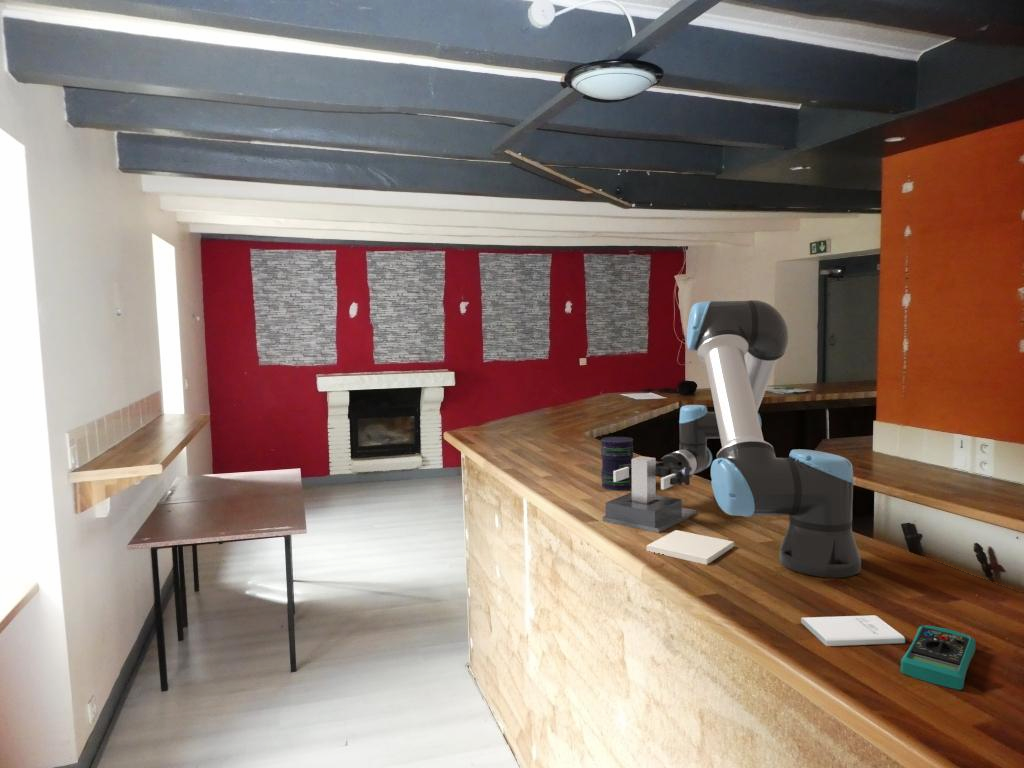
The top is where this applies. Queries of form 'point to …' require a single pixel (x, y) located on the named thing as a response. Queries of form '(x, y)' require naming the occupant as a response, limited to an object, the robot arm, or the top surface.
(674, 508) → the socket block
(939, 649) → the digital multimeter
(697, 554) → the cream pad
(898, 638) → the external hard drive
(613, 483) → the storage jar
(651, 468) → the aluminium plug
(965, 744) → the top surface
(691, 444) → the robot arm
